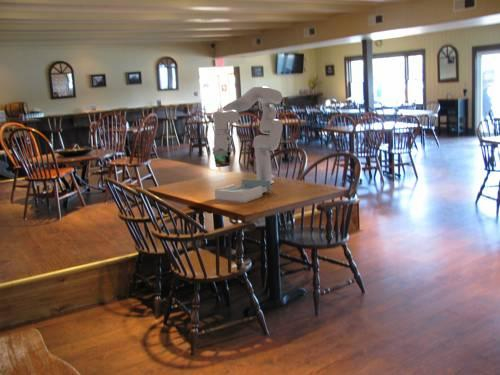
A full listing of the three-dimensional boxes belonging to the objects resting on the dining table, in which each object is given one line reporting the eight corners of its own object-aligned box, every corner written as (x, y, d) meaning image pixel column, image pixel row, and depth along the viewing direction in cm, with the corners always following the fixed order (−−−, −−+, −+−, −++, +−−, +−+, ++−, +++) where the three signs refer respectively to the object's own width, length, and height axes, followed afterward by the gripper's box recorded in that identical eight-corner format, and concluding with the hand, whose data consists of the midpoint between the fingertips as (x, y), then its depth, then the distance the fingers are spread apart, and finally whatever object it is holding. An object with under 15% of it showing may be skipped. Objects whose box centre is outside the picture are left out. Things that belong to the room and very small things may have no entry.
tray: (243, 188, 316) (242, 179, 315) (270, 190, 305) (270, 180, 303) (225, 194, 302) (224, 184, 301) (253, 197, 290) (252, 186, 289)
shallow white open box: (234, 193, 309) (234, 183, 308) (262, 196, 298) (261, 186, 297) (215, 200, 294) (214, 190, 293) (243, 203, 283) (243, 192, 282)
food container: (220, 168, 302) (218, 151, 300) (213, 167, 307) (212, 150, 305) (236, 164, 310) (235, 148, 308) (230, 163, 314) (228, 147, 312)
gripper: (236, 131, 302) (238, 161, 306) (214, 131, 312) (216, 160, 316) (228, 133, 296) (231, 163, 300) (206, 132, 306) (208, 162, 310)
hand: (223, 162), depth 308 cm, fingers closed on food container, 5 cm apart
